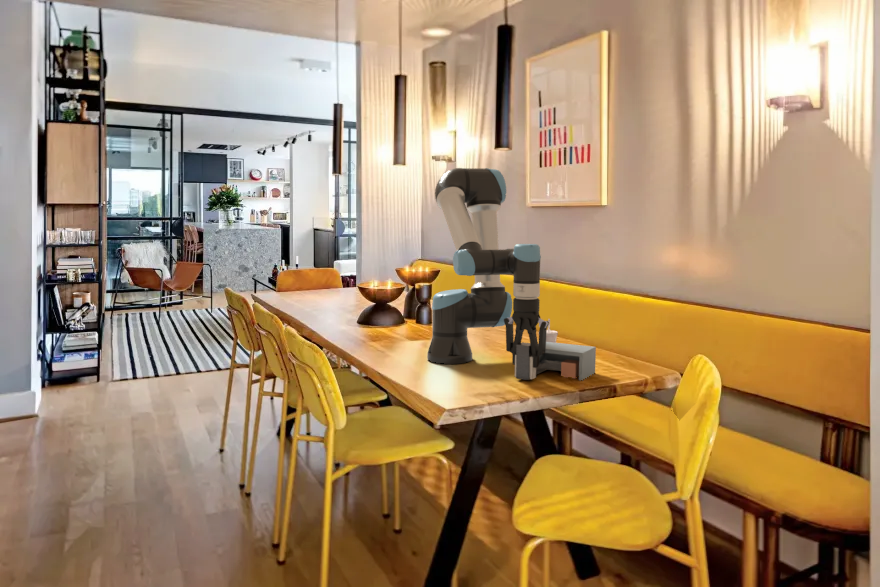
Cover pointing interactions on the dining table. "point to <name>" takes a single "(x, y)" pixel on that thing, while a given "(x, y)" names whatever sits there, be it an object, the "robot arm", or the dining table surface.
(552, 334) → the smoothie
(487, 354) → the dining table surface
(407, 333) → the dining table surface
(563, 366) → the cube
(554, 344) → the cubby
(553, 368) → the grey block with rod
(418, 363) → the dining table surface
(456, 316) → the robot arm
